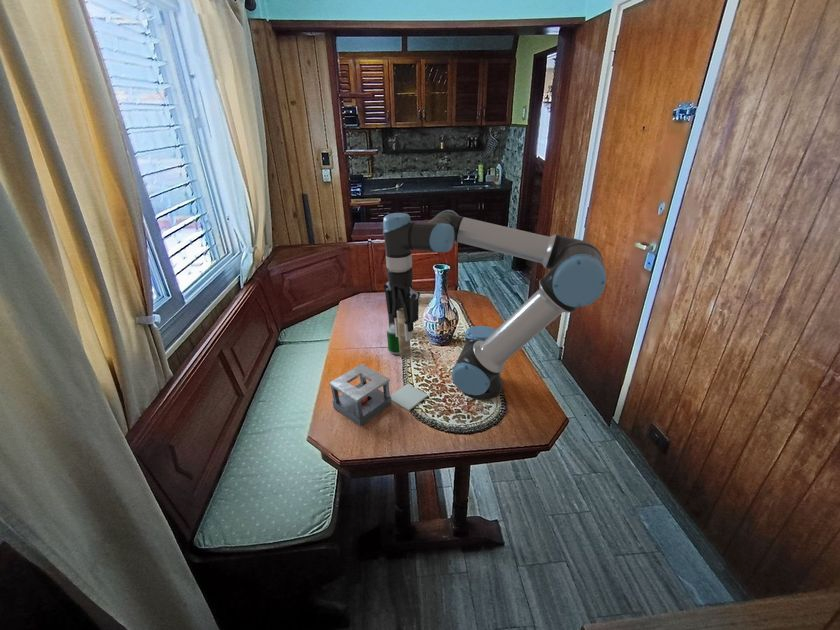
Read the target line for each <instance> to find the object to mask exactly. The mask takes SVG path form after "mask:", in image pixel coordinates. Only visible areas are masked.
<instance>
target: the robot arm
mask: <svg viewBox="0 0 840 630" xmlns="http://www.w3.org/2000/svg"><path fill="white" fill-rule="evenodd" d="M382 224H383V231H382V233H383V240H384V248H385V263H386V264H385V265H386V268H387V270H386V274H387V276H386V277H387V281H388V282H387V283H385V284H383V285H382V287H383V290H384V294H385V302H386V308H387V310H386V311H387V315H388V314H391V315H392V317H393V322H394V326H395V334H396V337H399V336H398V323H397V310H398V309H400V307H401V302H402V304H403V309H404V314H405V319H406V322H404V329H405V341H409V340H410V341H411V340H412V339H413V338H414V337H413V336H414V335H413V331H414V328H415V327H414V323H415V322H418V321H419V311H420V310H419V309H420V308H419V302H420V301H419V300H420V296H421V293H420V291H417V292H416V291H415V290H414V287H413V286H412V284H411V283H412V281H413V280H414V272H413V269H414V268H412V267H413V255H412V254H413V253H412V252H413V251H423V252H424V251H425V252H434V253H448V252H451V251H452V249H453V246H454V243H455V242H456V243H459V244H464V245H468V246H471V247H476V248H480V249H483V250H488V251H492V252H495V253H500V254H503V255H507V256H512V257H516V258H519V259H520V258H521V259H524V260H527V261H532V262H535V263H538V264H539V263H540V264H541V265H542V266H543V268H544V269H548V270H549V271H548V272H546V274H545V275H544V276H543V277H541V279H539V282H538V283H539V286H538V287H539V289H538V290H536V292H534V293H533V294H532V295H531V296H530V297H529V298H528V299H527V300H526V301H525V302H524V303H522V304H521V305H520V307H518V308H517V310H515V311H514V312H513V313H512V314H511V315H510V316H509V317H508V318H507V319H505V321H504V322H503V323H501V324H500V325H499V327H497V328H495V327H491V326H487V325H475V326H470V327H468V328H467V329H466V330H465V333H464V338H465V339H464V345H463V347H462V349H461V351H460V353H459V356H458V358H457V360H456V362H455V364H454V366H453V367H452V372H451V379H452V381H453V382H452V383H453V384H454V386H456V388H457V389H458V390H459V391H460V392H462V393H463V394H464V395H465V396H467V397H469V398H471V399H474V400H475V399H476V400H483V401H484V400H491V399H494V398H496V397H498V396H499V395H500V394H501V393H502V390H503V380H502V377H501V373H502V372H503V371H504V370H505V363H506V362H507V361H508V360H510V358H512V357H513V356H514V355H515V354H516V353H517V352H518V351H520V349H522V348H523V347H524V346H525V345H527V344H528V343H529V342H530V341H531V340H532V339H534V338H535V337H536V336H538V335H539V333H541V332H542V331H543V330H544V329H545V328H547V327H548V326H549V325H550V324H551V323H552V322H553V321H554V320H556V319H557V318H559V316H560V315H561V314H563V313H568V314H569V313H573V312H574V311H576V309H578V308H580V307H583V308H584V307H586V306H589V305H591V304H593V303H594V302H596V301H597V300H598V299H599V298H600V297H601V295H602V294H603V292H604V290H605V288H606V283H607V272H606V268H605V266H604V259H603V256H602V253H601V251H600V250H599V249H598V248H597V247H596V246H595V245H593V243H590V242H588V241H585V240H582V239H577V238H572V237H568V236H564V235H559V234H556V233H555V234H553V235H551V236H548V235H543V234H538V233H533V232H530V231H526V230H520V229H517V228H514V227H509V226H503V225H499V224H495V223H490V222H486V221H484V220H483V221H482V220H478V219H474V218H470V217H469V218H468V217H465V216H462V215H459V214H458V213H457V212H456V211H454V210H452V209H446V210H443V211H441V212H438V213H437V214H436V215H435V216H434V217H433V218H432V219H430V220H429V221H428V222H415V221H414V222H413V221H411V216H410V215H409V213H404V212H393V213H388V214H387V215H384V217H383V222H382ZM391 308H392V309H391Z"/></svg>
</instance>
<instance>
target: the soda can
mask: <svg viewBox="0 0 840 630" xmlns="http://www.w3.org/2000/svg"><path fill="white" fill-rule="evenodd" d="M386 339H387V348H388V352H389V353H391V354H392V355H395V356H400V350H399V337H396V334H395V326H394V323H391V324H390V325H389V324H388V325H387V327H386Z"/></svg>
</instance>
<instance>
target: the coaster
mask: <svg viewBox="0 0 840 630" xmlns="http://www.w3.org/2000/svg"><path fill="white" fill-rule="evenodd" d="M390 396H391V400H392V403H394V404H396V405H398V406H400V407H401V408H403V409H405V410H406V411H408V412H410V411H411V410H413V409H414V407H416V406H418V405H419V404H420V403H421V402H422V401H424V400H425V399H426V398H428V397H429V394H428V393H426V392H424V391H422V390H421V389H418V387H415V386H413V385H411V384H409V383H406V384H405V385H403V386H402V387H400V388H399V389H398V390H396V391H395V392H393V393H392V394H390Z"/></svg>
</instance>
